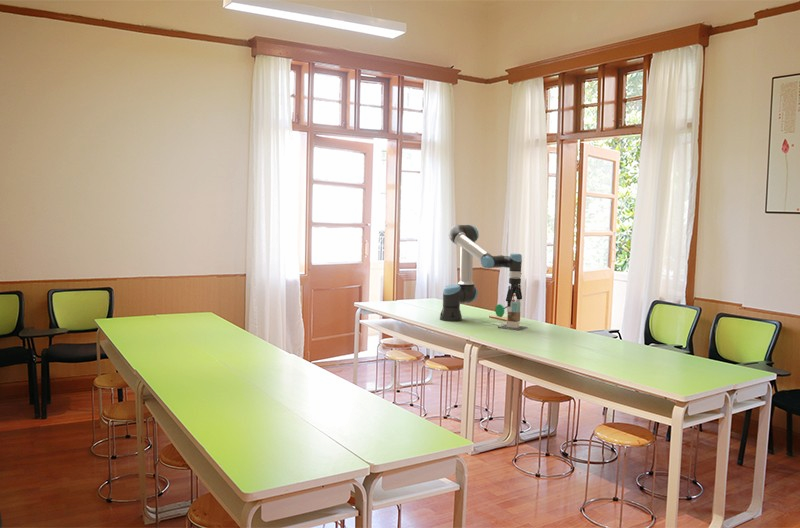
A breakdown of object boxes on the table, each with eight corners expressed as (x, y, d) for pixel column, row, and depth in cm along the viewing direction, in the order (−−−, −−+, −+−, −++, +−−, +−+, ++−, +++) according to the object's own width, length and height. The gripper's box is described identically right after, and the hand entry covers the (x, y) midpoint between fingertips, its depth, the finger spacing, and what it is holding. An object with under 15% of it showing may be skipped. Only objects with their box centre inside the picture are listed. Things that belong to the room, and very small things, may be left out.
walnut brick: (507, 320, 427) (507, 311, 426) (510, 319, 431) (511, 310, 431) (516, 321, 423) (516, 312, 423) (519, 320, 428) (520, 311, 427)
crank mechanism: (519, 322, 450) (521, 294, 448) (512, 323, 446) (513, 294, 445) (495, 316, 471) (496, 290, 469) (488, 317, 467) (489, 290, 465)
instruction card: (493, 324, 438) (493, 323, 438) (498, 323, 444) (498, 322, 444) (507, 326, 432) (507, 325, 432) (511, 324, 438) (511, 324, 438)
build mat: (498, 327, 426) (498, 320, 425) (507, 324, 437) (507, 318, 437) (518, 330, 418) (518, 323, 418) (527, 327, 430) (527, 320, 429)
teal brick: (507, 311, 426) (507, 302, 425) (511, 310, 431) (511, 301, 430) (516, 312, 422) (516, 303, 422) (520, 311, 428) (520, 302, 427)
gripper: (512, 279, 413) (510, 313, 414) (528, 276, 433) (526, 308, 435) (501, 278, 417) (500, 311, 418) (517, 275, 437) (516, 307, 439)
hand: (513, 310), depth 427 cm, fingers open, 13 cm apart
